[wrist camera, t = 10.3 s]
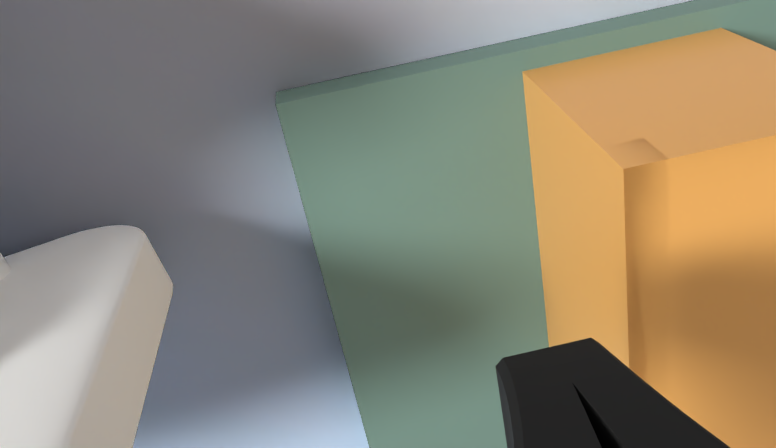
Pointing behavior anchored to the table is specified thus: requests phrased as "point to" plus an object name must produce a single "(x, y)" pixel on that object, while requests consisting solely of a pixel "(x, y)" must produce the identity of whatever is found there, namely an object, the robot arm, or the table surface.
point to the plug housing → (665, 219)
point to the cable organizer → (79, 338)
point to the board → (446, 216)
